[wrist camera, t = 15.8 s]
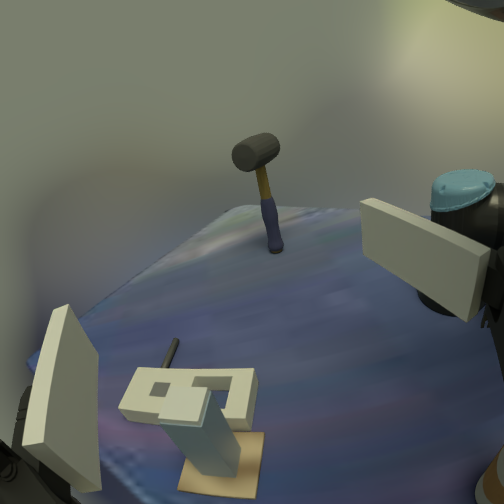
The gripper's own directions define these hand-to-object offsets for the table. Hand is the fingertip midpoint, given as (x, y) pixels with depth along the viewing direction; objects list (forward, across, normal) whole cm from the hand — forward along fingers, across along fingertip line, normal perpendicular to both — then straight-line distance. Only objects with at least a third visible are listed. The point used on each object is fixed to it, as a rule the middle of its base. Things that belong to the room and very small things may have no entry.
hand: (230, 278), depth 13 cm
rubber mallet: (+59, +23, -32) cm, 71 cm away
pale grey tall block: (+10, -6, -31) cm, 34 cm away
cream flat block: (+27, -6, -32) cm, 42 cm away
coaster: (+10, -6, -32) cm, 34 cm away
